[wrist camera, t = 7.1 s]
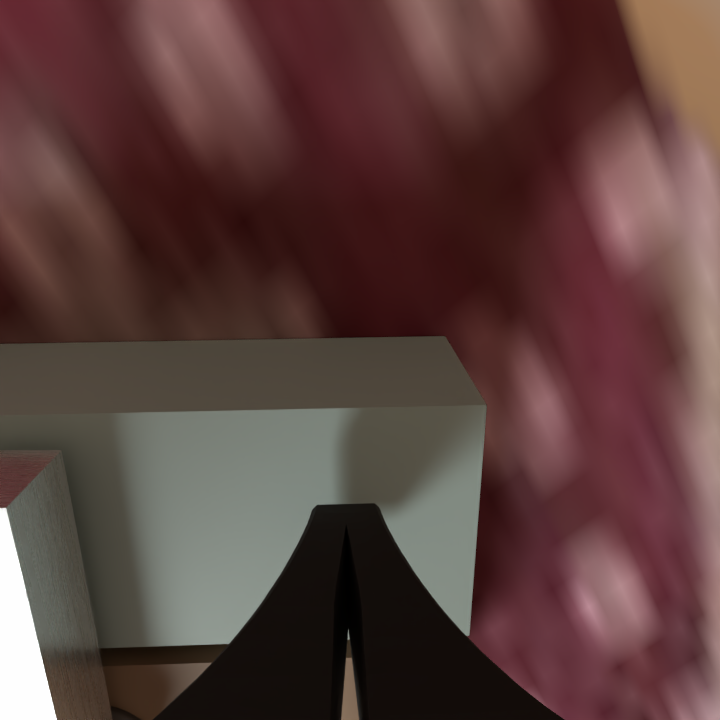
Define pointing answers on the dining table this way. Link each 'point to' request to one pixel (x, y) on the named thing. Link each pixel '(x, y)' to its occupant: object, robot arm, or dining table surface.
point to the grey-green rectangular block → (246, 466)
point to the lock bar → (44, 598)
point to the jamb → (174, 678)
